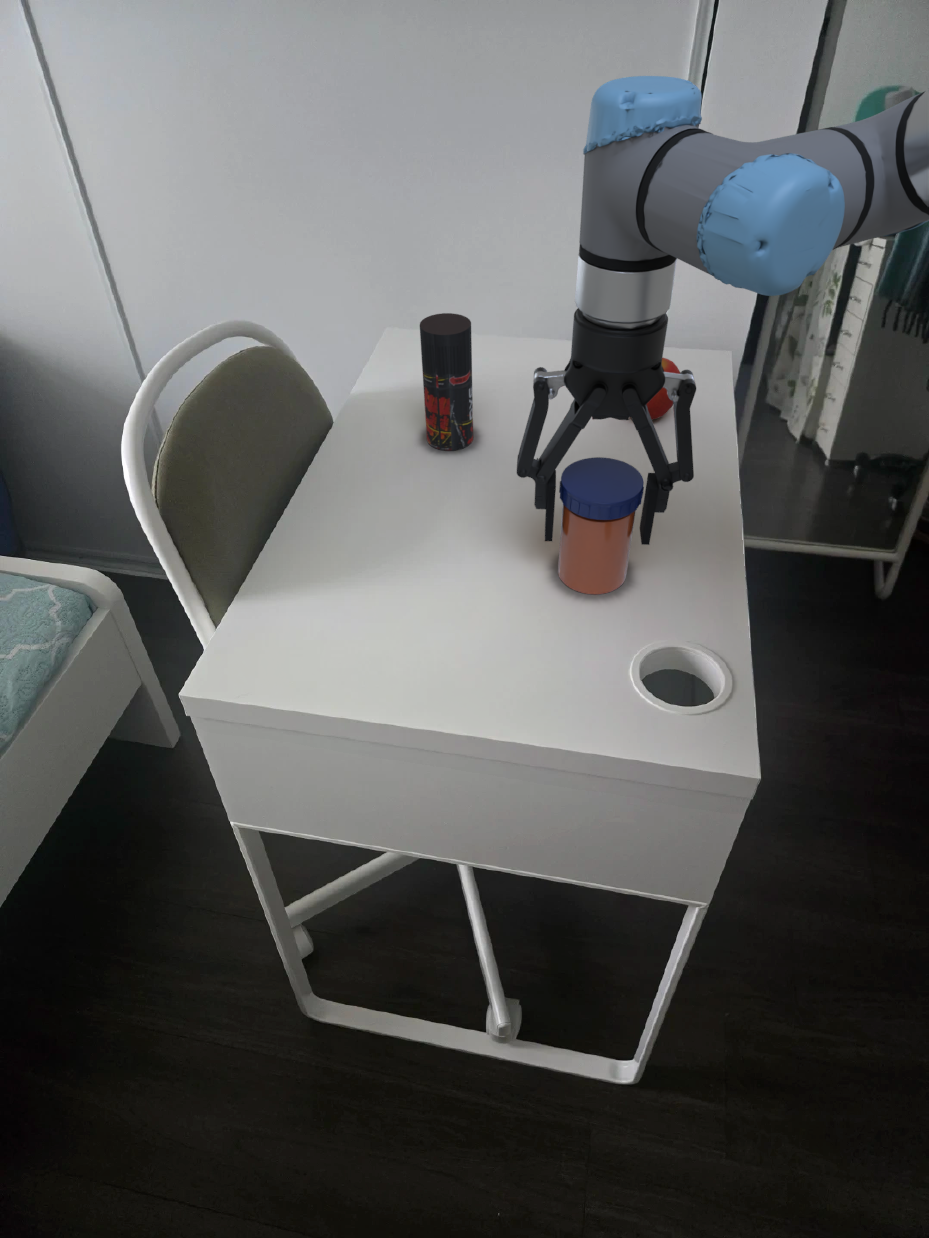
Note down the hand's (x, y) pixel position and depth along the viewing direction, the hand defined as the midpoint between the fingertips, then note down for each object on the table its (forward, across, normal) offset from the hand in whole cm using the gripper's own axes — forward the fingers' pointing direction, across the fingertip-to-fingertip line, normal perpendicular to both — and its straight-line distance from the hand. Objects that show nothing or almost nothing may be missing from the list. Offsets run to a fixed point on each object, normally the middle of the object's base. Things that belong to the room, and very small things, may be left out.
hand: (596, 534), depth 80 cm
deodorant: (+5, +17, -26) cm, 31 cm away
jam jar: (+5, 0, 0) cm, 5 cm away
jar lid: (-6, 0, 0) cm, 6 cm away
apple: (+5, -8, -33) cm, 34 cm away
